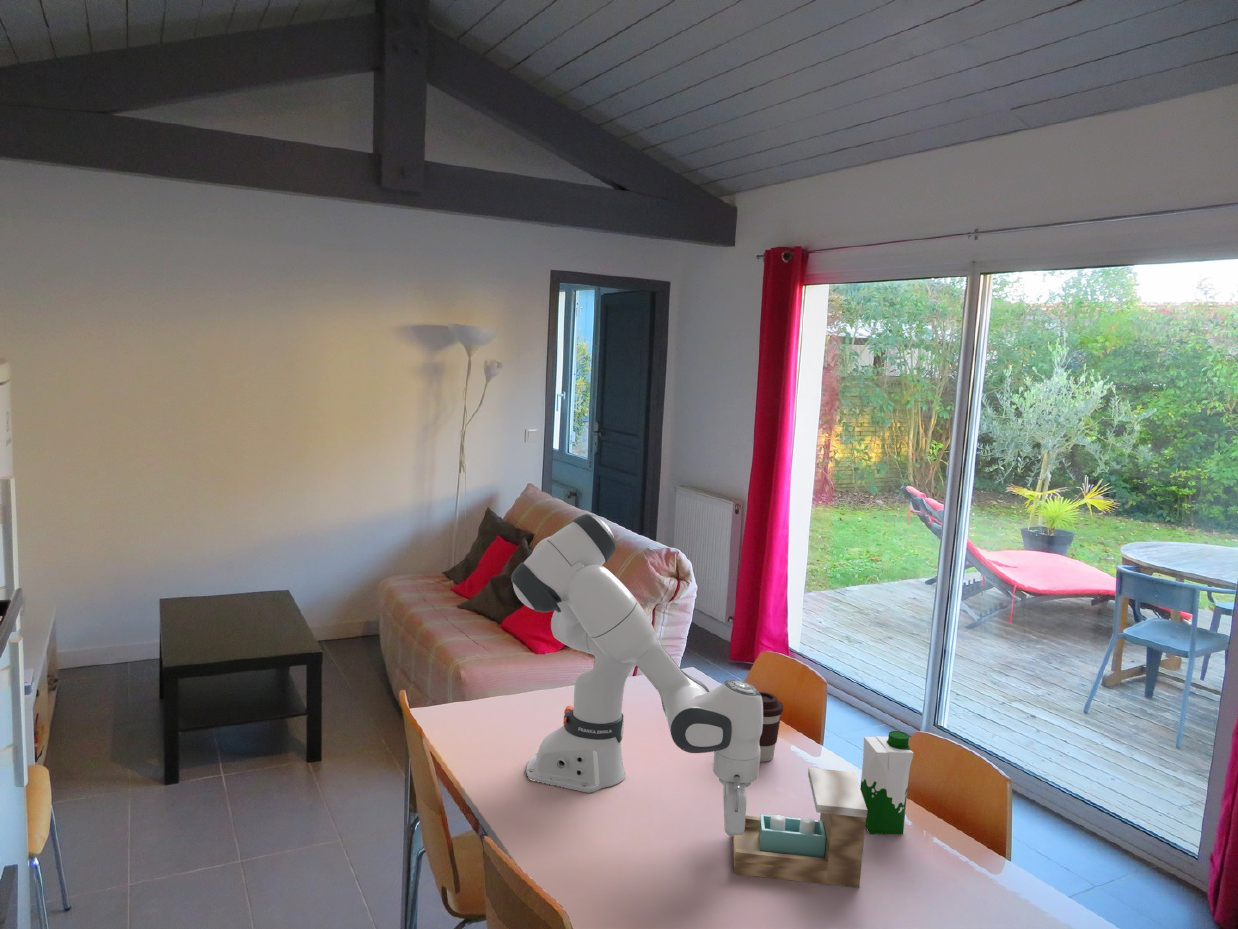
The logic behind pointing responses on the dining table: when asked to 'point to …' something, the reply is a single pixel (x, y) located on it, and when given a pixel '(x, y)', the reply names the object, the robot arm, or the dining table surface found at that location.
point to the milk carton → (886, 782)
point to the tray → (792, 836)
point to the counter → (843, 832)
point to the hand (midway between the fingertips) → (731, 832)
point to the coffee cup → (769, 725)
